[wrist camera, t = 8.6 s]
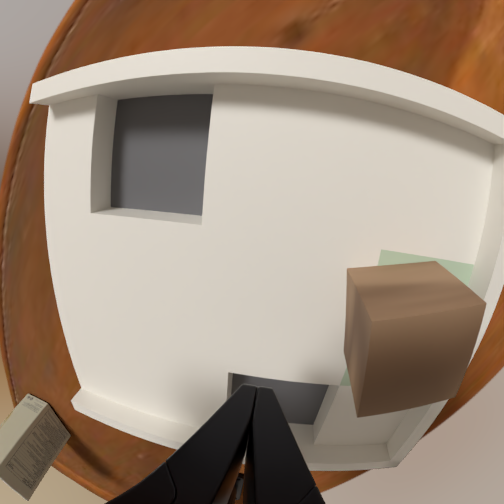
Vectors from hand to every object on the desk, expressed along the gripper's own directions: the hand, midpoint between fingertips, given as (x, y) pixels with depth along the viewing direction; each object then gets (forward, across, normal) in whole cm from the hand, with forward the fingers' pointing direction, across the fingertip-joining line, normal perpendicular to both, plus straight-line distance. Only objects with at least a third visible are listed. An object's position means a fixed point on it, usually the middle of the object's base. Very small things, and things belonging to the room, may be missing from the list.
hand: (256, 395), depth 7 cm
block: (+5, -5, -1) cm, 7 cm away
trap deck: (+7, +1, 0) cm, 7 cm away
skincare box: (+7, +23, +22) cm, 32 cm away
